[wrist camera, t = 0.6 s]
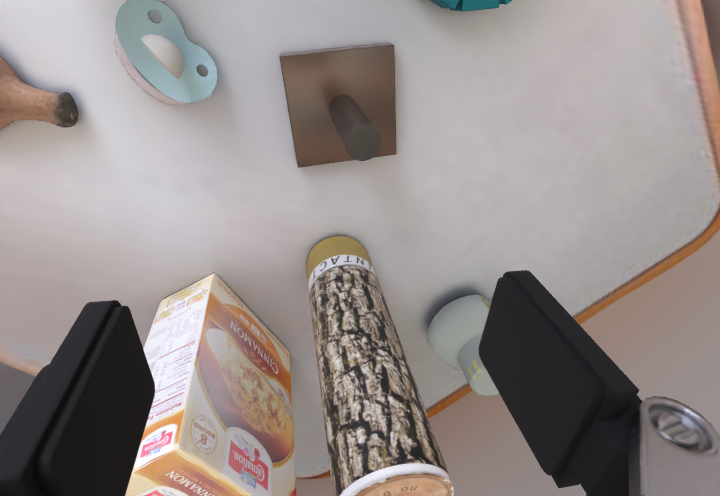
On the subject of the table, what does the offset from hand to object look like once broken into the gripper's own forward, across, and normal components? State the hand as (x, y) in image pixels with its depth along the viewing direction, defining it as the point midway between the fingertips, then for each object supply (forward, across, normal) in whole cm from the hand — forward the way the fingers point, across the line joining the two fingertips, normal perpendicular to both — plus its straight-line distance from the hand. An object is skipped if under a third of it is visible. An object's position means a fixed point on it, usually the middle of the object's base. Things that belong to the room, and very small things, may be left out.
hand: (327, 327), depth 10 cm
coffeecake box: (+28, +8, +25) cm, 39 cm away
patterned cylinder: (+28, -4, +17) cm, 33 cm away
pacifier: (+28, +9, -3) cm, 30 cm away
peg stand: (+28, -4, +1) cm, 28 cm away
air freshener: (+28, -20, +27) cm, 44 cm away
